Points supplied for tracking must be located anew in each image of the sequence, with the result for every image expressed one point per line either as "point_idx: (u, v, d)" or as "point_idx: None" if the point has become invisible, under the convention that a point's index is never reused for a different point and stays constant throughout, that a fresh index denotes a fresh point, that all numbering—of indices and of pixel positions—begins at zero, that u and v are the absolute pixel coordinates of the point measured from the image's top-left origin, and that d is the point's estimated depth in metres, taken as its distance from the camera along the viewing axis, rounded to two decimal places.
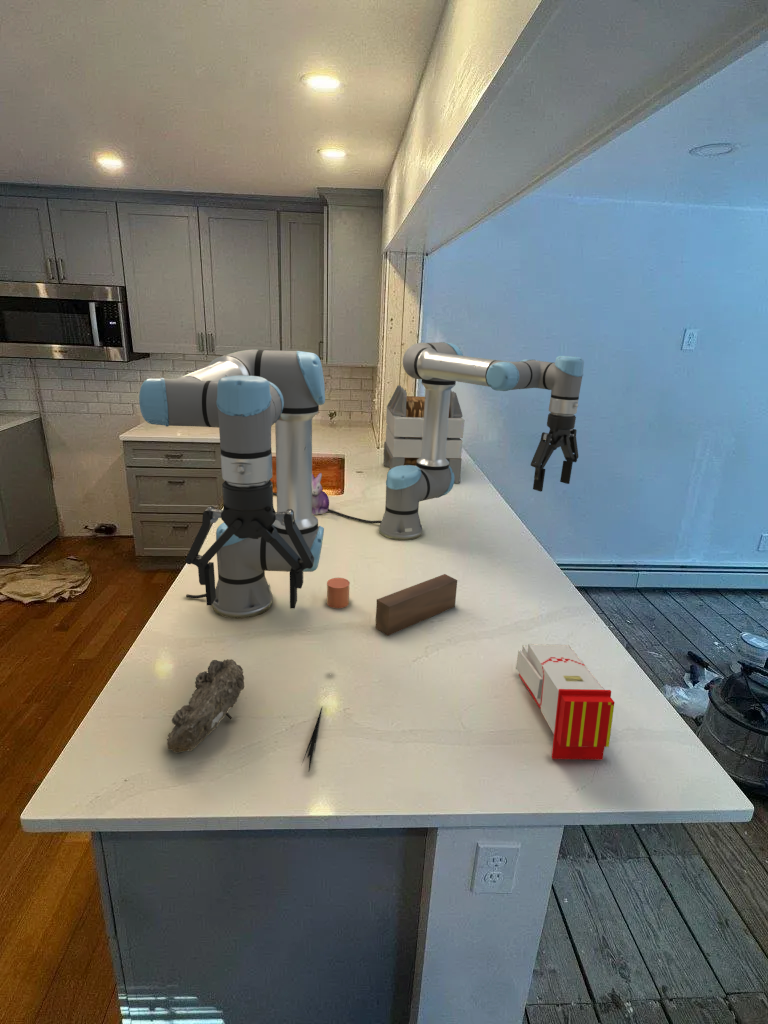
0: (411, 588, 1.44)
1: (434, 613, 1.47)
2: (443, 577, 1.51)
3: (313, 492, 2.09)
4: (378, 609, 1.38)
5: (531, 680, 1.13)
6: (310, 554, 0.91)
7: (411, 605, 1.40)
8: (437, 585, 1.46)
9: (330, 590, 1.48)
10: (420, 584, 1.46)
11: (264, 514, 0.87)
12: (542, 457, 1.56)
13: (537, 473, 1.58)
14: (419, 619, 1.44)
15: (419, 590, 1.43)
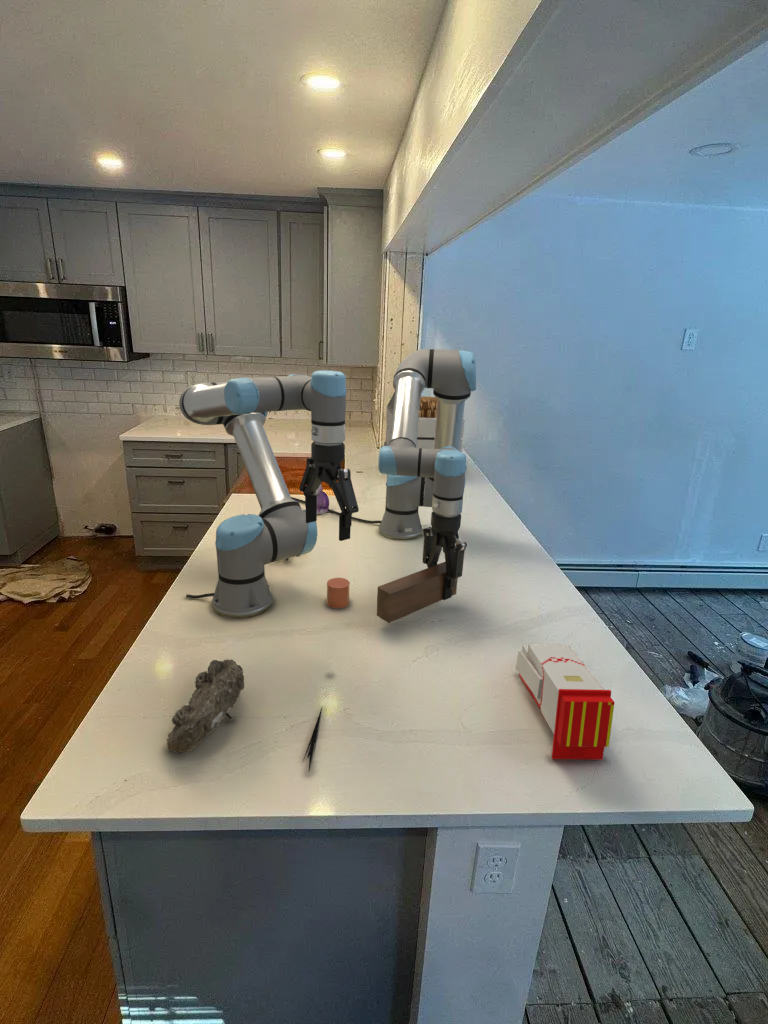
0: (412, 575, 1.43)
1: (435, 600, 1.47)
2: (444, 564, 1.50)
3: None
4: (379, 596, 1.37)
5: (531, 680, 1.13)
6: (353, 504, 1.24)
7: (412, 592, 1.39)
8: (438, 572, 1.45)
9: (330, 590, 1.48)
10: (421, 571, 1.46)
11: (330, 467, 1.26)
12: (424, 553, 1.50)
13: None
14: (420, 607, 1.43)
15: (420, 577, 1.42)
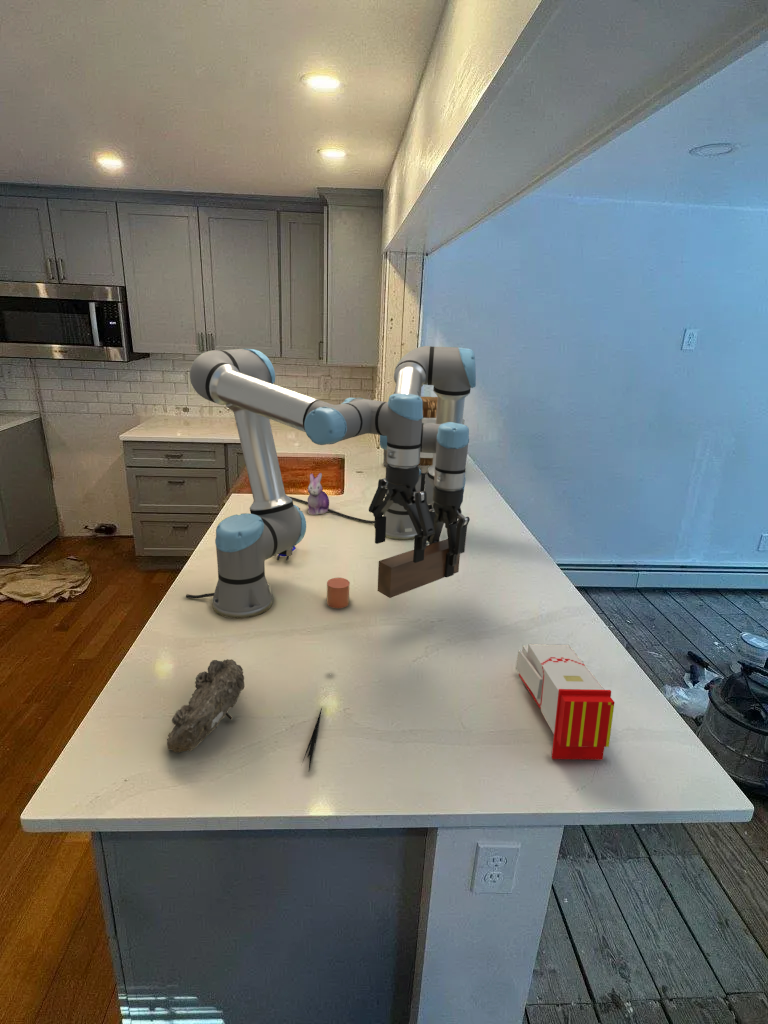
0: None
1: (437, 577, 1.44)
2: (446, 541, 1.47)
3: (313, 492, 2.09)
4: (380, 571, 1.35)
5: (531, 680, 1.13)
6: (430, 527, 1.25)
7: (414, 567, 1.37)
8: (440, 548, 1.43)
9: (330, 590, 1.48)
10: None
11: (406, 489, 1.26)
12: None
13: None
14: (422, 583, 1.40)
15: None
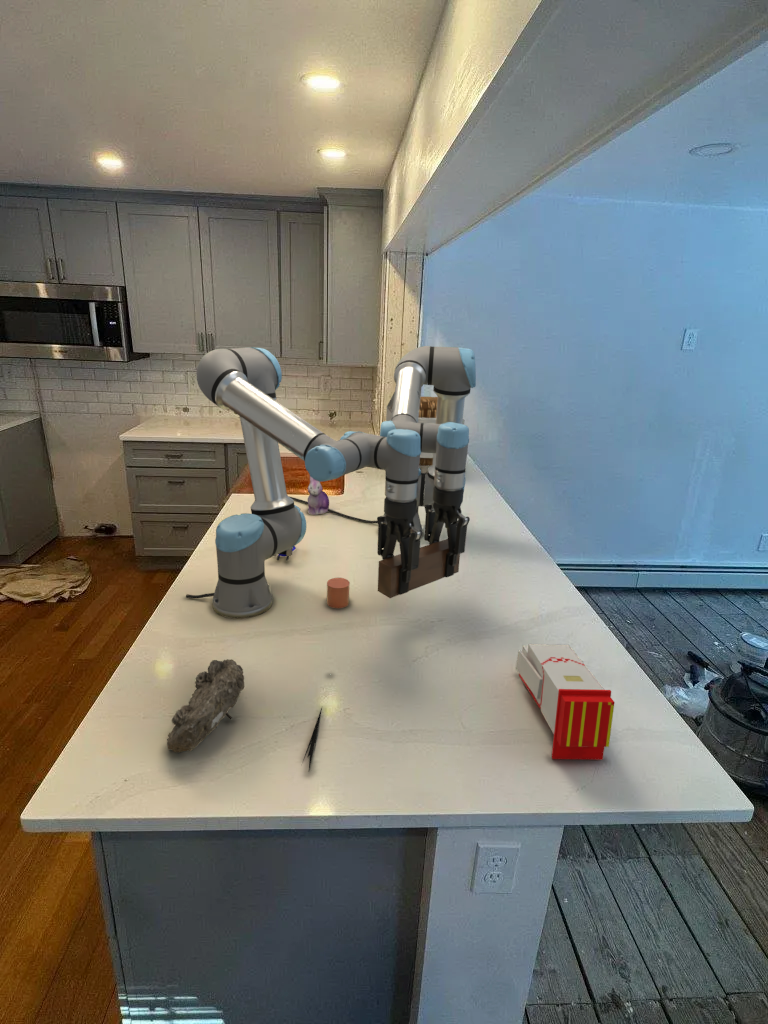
0: None
1: (437, 577, 1.44)
2: (446, 541, 1.47)
3: (313, 492, 2.09)
4: (380, 571, 1.35)
5: (531, 680, 1.13)
6: (415, 563, 1.31)
7: None
8: (440, 548, 1.43)
9: (330, 590, 1.48)
10: (423, 547, 1.43)
11: (403, 522, 1.29)
12: (426, 529, 1.48)
13: None
14: (422, 583, 1.40)
15: (422, 553, 1.40)
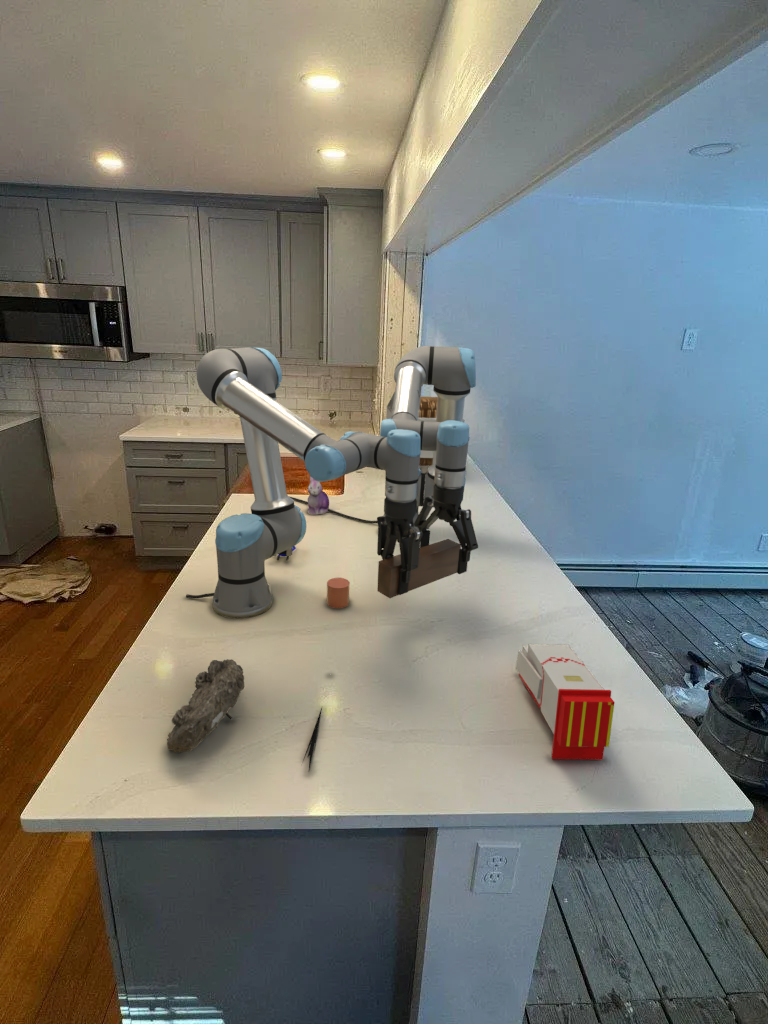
0: None
1: (437, 577, 1.44)
2: (446, 541, 1.47)
3: (313, 492, 2.09)
4: (380, 571, 1.35)
5: (531, 680, 1.13)
6: (415, 563, 1.31)
7: None
8: (440, 549, 1.43)
9: (330, 590, 1.48)
10: (423, 548, 1.43)
11: (403, 523, 1.29)
12: (418, 518, 1.49)
13: None
14: (422, 583, 1.40)
15: (422, 553, 1.40)
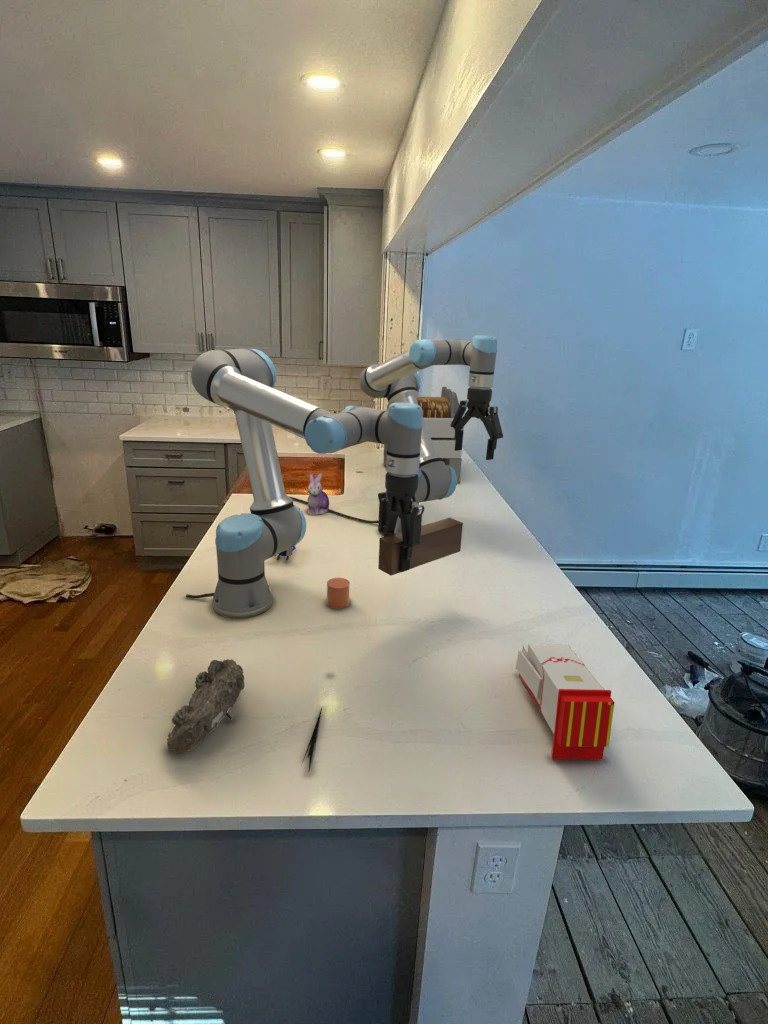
0: None
1: (439, 556, 1.42)
2: (448, 520, 1.45)
3: (313, 492, 2.09)
4: (381, 548, 1.33)
5: (531, 680, 1.13)
6: (417, 539, 1.29)
7: None
8: (441, 527, 1.41)
9: (330, 590, 1.48)
10: (424, 525, 1.41)
11: (405, 498, 1.27)
12: (454, 419, 1.84)
13: None
14: (423, 561, 1.38)
15: (423, 530, 1.38)
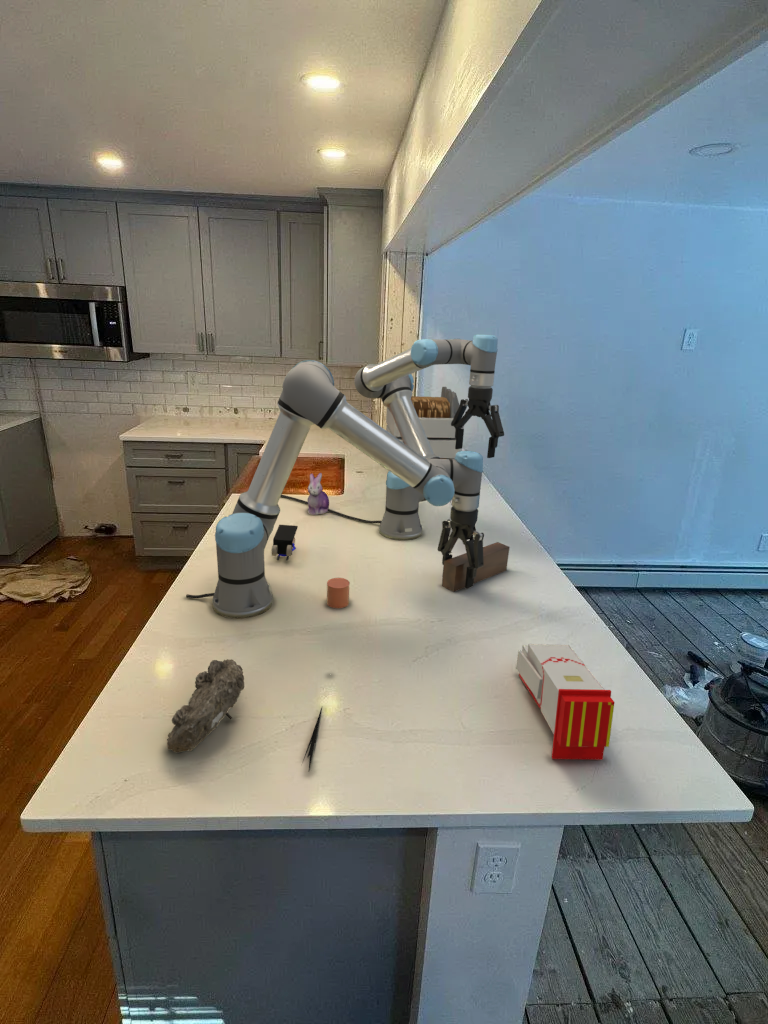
0: None
1: (490, 575, 1.70)
2: (497, 544, 1.74)
3: (313, 492, 2.09)
4: (445, 569, 1.61)
5: (531, 680, 1.13)
6: (481, 561, 1.56)
7: None
8: (492, 550, 1.69)
9: (330, 590, 1.48)
10: None
11: (467, 528, 1.55)
12: (455, 418, 1.86)
13: None
14: (478, 579, 1.67)
15: None
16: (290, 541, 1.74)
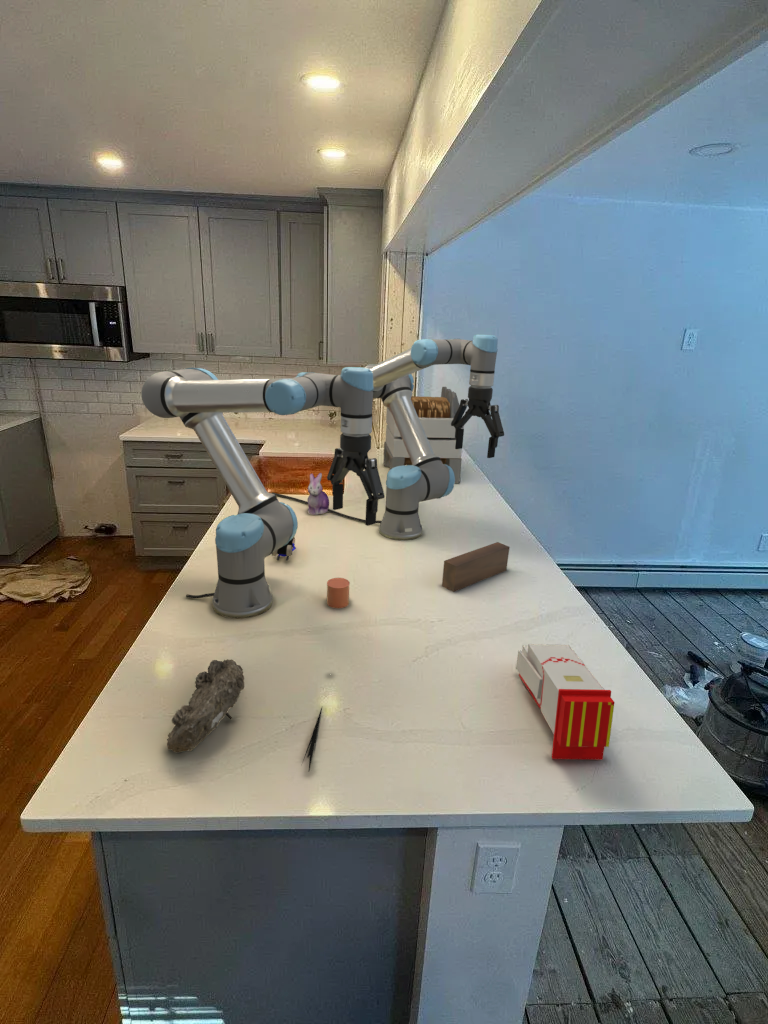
0: (471, 552, 1.67)
1: (490, 575, 1.70)
2: (497, 544, 1.74)
3: (313, 492, 2.09)
4: (445, 569, 1.61)
5: (531, 680, 1.13)
6: (380, 491, 1.34)
7: (473, 566, 1.63)
8: (492, 550, 1.69)
9: (330, 590, 1.48)
10: (478, 549, 1.69)
11: (358, 457, 1.36)
12: (455, 418, 1.86)
13: None
14: (478, 579, 1.67)
15: (478, 554, 1.66)
16: (290, 541, 1.74)
